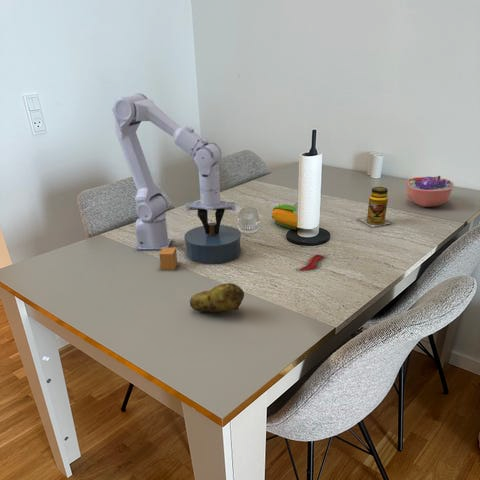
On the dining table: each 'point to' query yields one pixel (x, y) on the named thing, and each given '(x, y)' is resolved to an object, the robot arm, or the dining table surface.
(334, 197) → the dining table surface
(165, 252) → the wooden brick
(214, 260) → the pot
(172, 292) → the dining table surface
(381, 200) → the condiment
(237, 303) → the potato
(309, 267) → the cayenne pepper
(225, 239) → the pot lid
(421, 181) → the cell model
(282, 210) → the corn
